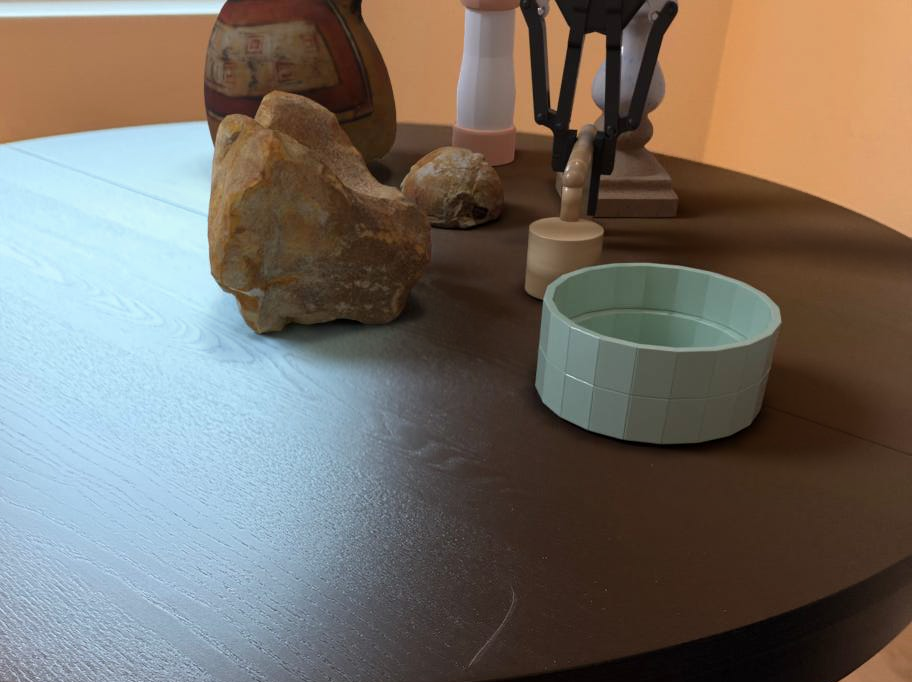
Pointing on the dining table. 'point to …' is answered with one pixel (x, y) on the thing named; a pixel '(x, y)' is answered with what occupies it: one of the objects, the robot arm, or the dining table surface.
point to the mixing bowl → (655, 352)
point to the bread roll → (455, 188)
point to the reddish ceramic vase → (301, 66)
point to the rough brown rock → (308, 222)
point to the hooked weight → (566, 225)
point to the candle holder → (633, 138)
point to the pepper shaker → (487, 81)
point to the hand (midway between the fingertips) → (578, 209)
